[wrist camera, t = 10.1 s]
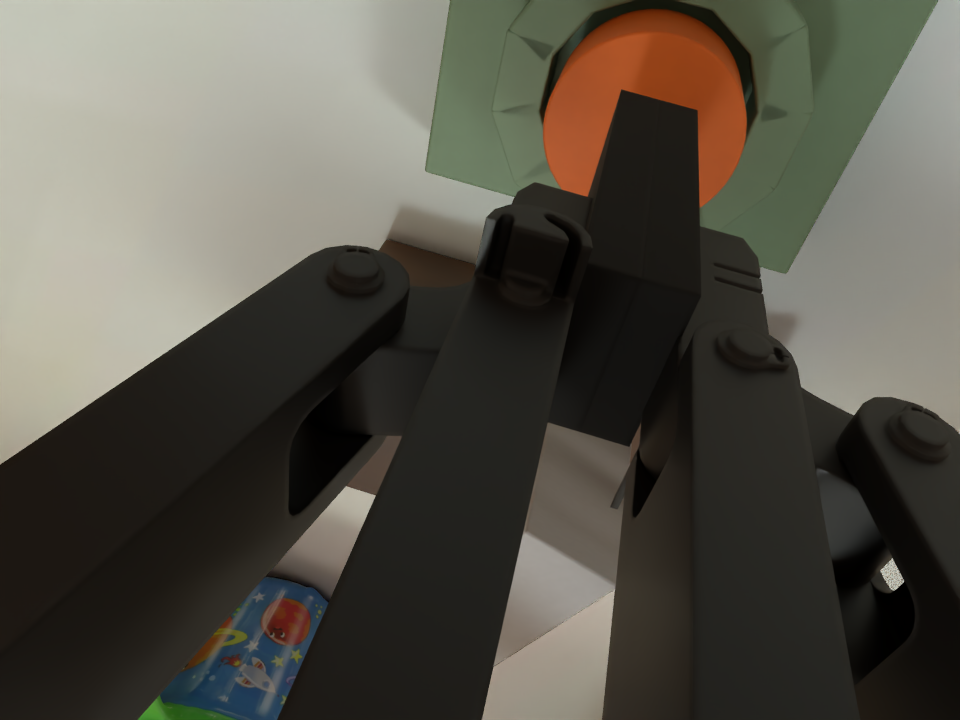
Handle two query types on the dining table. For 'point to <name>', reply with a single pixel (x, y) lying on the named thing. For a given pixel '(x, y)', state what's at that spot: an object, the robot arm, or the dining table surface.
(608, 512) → the tap lever
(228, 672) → the snack cup
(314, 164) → the dining table surface
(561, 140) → the button
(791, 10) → the button housing
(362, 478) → the brown flat block
